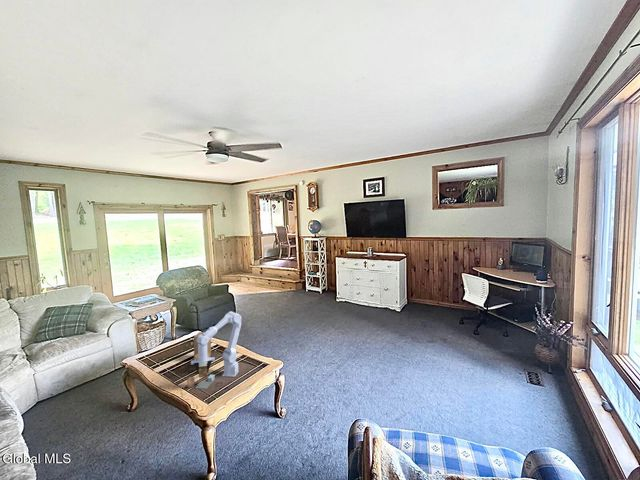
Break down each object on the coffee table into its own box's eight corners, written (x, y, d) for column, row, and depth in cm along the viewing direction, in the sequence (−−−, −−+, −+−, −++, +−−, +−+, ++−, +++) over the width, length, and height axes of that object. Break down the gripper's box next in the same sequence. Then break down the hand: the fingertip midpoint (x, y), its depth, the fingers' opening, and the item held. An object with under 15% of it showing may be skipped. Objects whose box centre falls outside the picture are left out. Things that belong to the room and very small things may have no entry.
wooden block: (211, 355, 231) (211, 332, 230) (206, 361, 221) (205, 336, 220) (199, 355, 231) (199, 331, 230) (193, 361, 221) (193, 336, 220)
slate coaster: (212, 382, 191) (212, 381, 191) (206, 389, 183) (206, 388, 183) (201, 381, 192) (201, 381, 192) (194, 388, 184) (194, 387, 184)
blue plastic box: (214, 379, 196) (214, 374, 196) (211, 382, 192) (211, 377, 192) (210, 378, 196) (210, 374, 196) (207, 381, 192) (207, 377, 192)
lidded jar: (193, 369, 208) (193, 357, 208) (195, 362, 219) (195, 351, 218) (208, 367, 211) (208, 355, 211) (210, 361, 222) (210, 349, 221)
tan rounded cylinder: (195, 384, 189) (195, 377, 189) (192, 388, 185) (192, 380, 184) (189, 383, 190) (189, 376, 189) (186, 387, 185) (185, 380, 185)
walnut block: (207, 372, 191) (207, 365, 191) (207, 376, 186) (206, 369, 186) (199, 374, 189) (199, 366, 189) (198, 377, 185) (198, 370, 184)
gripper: (214, 348, 193) (214, 368, 194) (191, 351, 189) (192, 371, 189) (214, 353, 187) (214, 373, 187) (190, 356, 182) (190, 377, 183)
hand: (203, 372), depth 188 cm, fingers closed on walnut block, 5 cm apart
